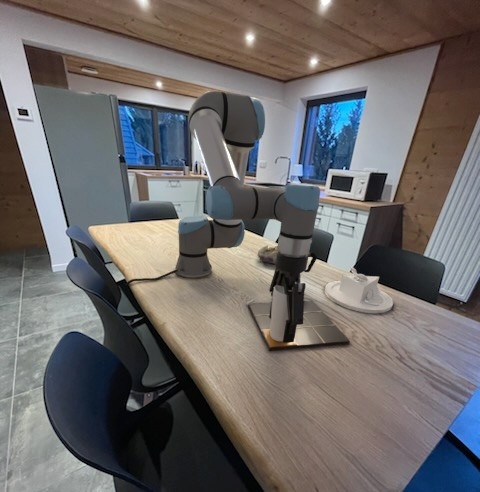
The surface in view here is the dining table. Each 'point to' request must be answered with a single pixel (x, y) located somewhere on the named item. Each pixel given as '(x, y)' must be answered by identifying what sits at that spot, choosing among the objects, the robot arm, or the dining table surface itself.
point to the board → (300, 328)
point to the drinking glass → (278, 313)
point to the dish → (359, 293)
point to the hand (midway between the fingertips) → (280, 328)
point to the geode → (268, 254)
